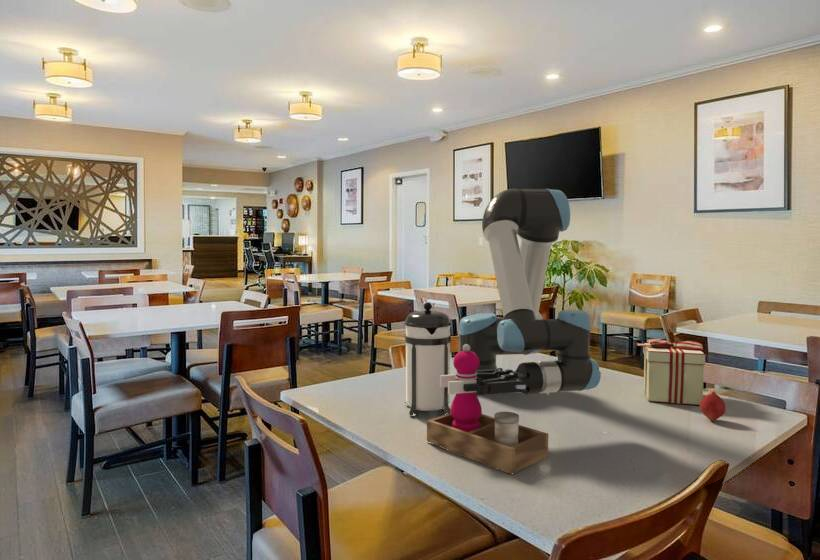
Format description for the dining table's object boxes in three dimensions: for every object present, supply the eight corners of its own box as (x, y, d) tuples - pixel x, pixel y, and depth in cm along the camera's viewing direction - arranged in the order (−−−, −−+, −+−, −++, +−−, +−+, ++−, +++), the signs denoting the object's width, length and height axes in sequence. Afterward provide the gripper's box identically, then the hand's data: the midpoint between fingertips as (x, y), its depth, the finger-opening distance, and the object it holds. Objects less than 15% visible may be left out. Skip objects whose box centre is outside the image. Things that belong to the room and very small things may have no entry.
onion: (694, 417, 144) (695, 387, 143) (715, 416, 145) (716, 387, 144) (708, 424, 138) (709, 393, 138) (730, 424, 139) (731, 393, 138)
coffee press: (468, 409, 151) (468, 301, 149) (430, 423, 140) (430, 307, 138) (421, 397, 163) (421, 297, 161) (383, 409, 152) (382, 301, 149)
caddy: (426, 442, 126) (426, 403, 126) (464, 429, 135) (464, 392, 135) (511, 474, 109) (512, 429, 108) (548, 457, 118) (548, 415, 117)
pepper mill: (480, 436, 122) (481, 347, 120) (448, 434, 123) (448, 346, 122) (482, 425, 129) (483, 341, 127) (452, 423, 130) (452, 340, 129)
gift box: (690, 389, 171) (692, 335, 170) (708, 407, 153) (710, 346, 152) (632, 386, 175) (634, 333, 174) (643, 403, 157) (645, 343, 156)
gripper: (556, 404, 122) (458, 412, 115) (519, 383, 139) (432, 390, 133) (557, 370, 121) (458, 377, 115) (520, 354, 138) (432, 359, 132)
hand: (444, 384), depth 124 cm, fingers closed on pepper mill, 5 cm apart
